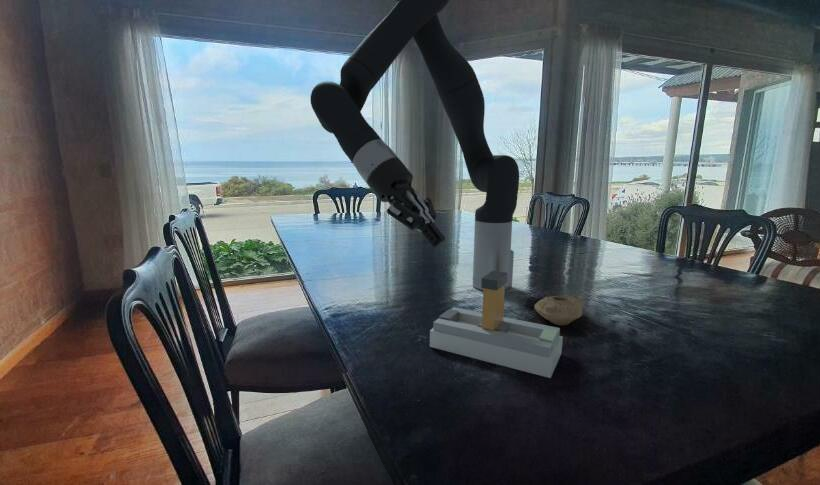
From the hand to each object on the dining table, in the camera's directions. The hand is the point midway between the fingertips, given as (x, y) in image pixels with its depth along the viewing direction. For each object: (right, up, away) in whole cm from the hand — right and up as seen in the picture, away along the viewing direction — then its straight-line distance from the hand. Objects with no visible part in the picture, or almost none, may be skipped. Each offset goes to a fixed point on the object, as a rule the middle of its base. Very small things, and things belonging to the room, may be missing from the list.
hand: (440, 243), depth 68 cm
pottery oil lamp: (+26, -16, +11) cm, 33 cm away
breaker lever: (+9, -15, -2) cm, 17 cm away
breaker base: (+9, -18, -2) cm, 20 cm away
